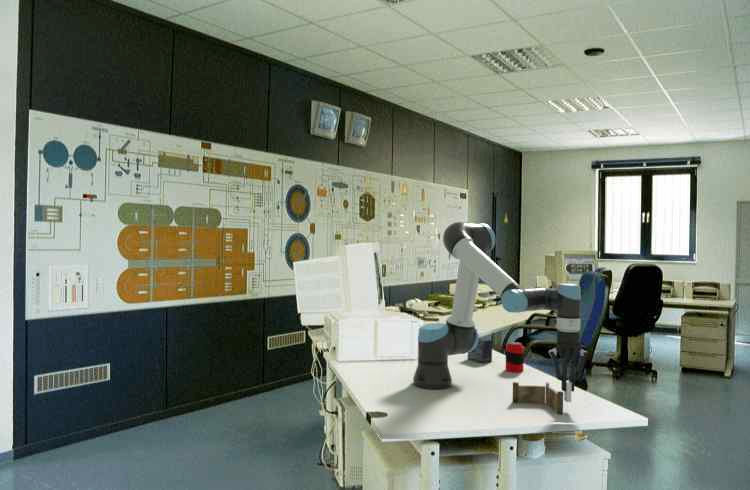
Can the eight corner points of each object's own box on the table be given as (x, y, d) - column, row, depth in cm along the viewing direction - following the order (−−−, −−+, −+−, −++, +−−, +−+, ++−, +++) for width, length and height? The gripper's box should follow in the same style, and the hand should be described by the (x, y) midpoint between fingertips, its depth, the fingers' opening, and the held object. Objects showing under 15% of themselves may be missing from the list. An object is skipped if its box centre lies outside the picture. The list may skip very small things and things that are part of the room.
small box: (492, 361, 259) (493, 339, 259) (482, 363, 256) (483, 340, 255) (476, 357, 268) (477, 336, 268) (466, 359, 264) (467, 337, 264)
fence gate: (544, 402, 193) (544, 382, 193) (549, 402, 193) (549, 382, 193) (558, 414, 180) (558, 392, 180) (563, 414, 180) (564, 392, 180)
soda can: (507, 367, 247) (507, 341, 247) (524, 369, 245) (524, 342, 244) (504, 371, 240) (504, 344, 240) (522, 373, 238) (522, 345, 237)
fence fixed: (513, 403, 192) (513, 383, 192) (511, 401, 194) (512, 381, 194) (545, 404, 192) (545, 384, 191) (543, 402, 194) (544, 382, 193)
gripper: (551, 331, 180) (551, 403, 181) (592, 332, 180) (591, 404, 180) (545, 328, 188) (544, 397, 188) (584, 328, 187) (583, 398, 188)
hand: (567, 400), depth 184 cm, fingers closed
